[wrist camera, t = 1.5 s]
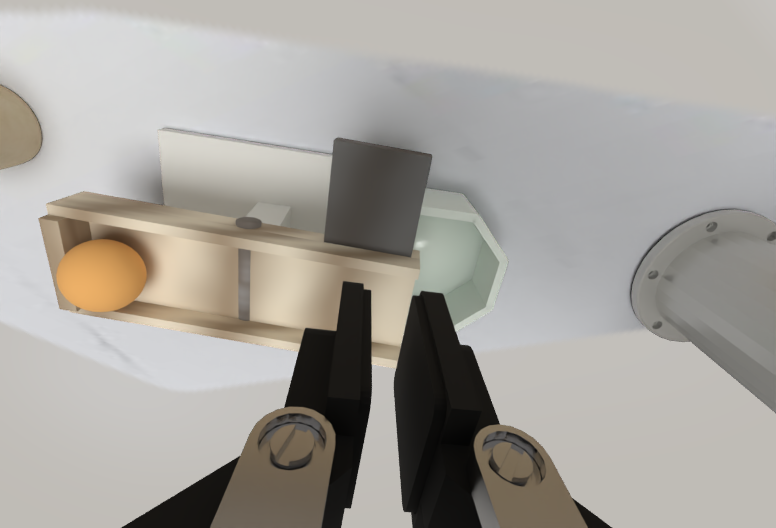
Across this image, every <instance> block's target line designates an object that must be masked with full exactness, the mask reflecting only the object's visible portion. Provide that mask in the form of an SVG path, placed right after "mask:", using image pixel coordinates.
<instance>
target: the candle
mask: <svg viewBox="0 0 776 528" xmlns="http://www.w3.org/2000/svg"><path fill="white" fill-rule="evenodd" d="M41 141H42V135H41V129H40V126H39V123H38V121H37V118H36V117H35V115H34V113H33V112H32V110H31V109H30V108H29V106H28V105H27V104H26V103H25V102H24V101H23V100H22V99H21V98H20V97H19V96H17V95H16V94H15V93H13V92H12V91H10V90H9V89H7V88H5V87H3V86H1V85H0V170H1V169H5V168H9V167H12V166H16V165H19V164H22V163H25V162H27V161H29V160H31V159H32V158H33V157H35V155H36V154H37V153H38V151H39V149H40V146H41Z"/></svg>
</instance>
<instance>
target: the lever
mask: <svg viewBox="0 0 776 528" xmlns="http://www.w3.org/2000/svg"><path fill="white" fill-rule="evenodd" d="M431 160H432V155H431V154H427V153H421V152H415V151H410V150H404V149H399V148H393V147H388V146H382V145H377V144H371V143H366V142H360V141H354V140H349V139H343V138H336V139H335V140H334V145H333V155H332V165H331V175H330V185H329V195H328V205H327V214H326V224H325V234H322V233H317V232H311V231H305V230H300V229H294V228H288V227H283V226H277V225H272V224H266V223H262V221H261V220H260V219H257V218H254V217H241V218H232V217H226V216H221V215H215V214H209V213H204V212H198V211H192V210H187V209H181V208H176V207H170V206H164V205H159V204H153V203H147V202H142V201H136V200H130V199H125V198H119V197H113V196H108V195H102V194H96V193H91V192H85V191H83V192H80V193H77V194H74V195H71V196H68V197H65V198H62V199H59V200H56V201H53V202H50V203H47V204H46V206H47V211H48V215H46V216H43V217H40V218H39V223H40V227H41V231H42V235H43V240H44V244H45V248H46V252H47V257H48V261H49V265H50V269H51V274H52V278H53V282H54V287H55V291H56V295H57V299H58V304H59V308H60V309H63V310H69V311H70V312H72V313H78V314H84V315H90V316H95V317H101V318H107V319H113V320H118V321H124V322H130V323H136V324H142V325H147V326H153V327H159V328H165V329H170V330H176V331H182V332H188V333H194V334H199V335H205V336H211V337H217V338H222V339H228V340H234V341H240V342H245V343H251V344H257V345H263V346H269V347H274V348H280V349H286V350H292V351H297V352H299V349H300V345H301V341H302V337H303V333H304V330H305V328H314V329H323V330H332V331H336V329H337V322H338V314H339V307H340V299H341V292H342V284H343V281H348V282H356V283H364V289H367V290H371V317H372V365H378V366H384V367H390V368H396V367H397V362H398V358H399V353H400V348H401V343H402V338H403V333H404V329H405V324H406V320H407V315H408V311H409V306H410V302H411V297H412V293H413V288H414V284H415V279H417V280H418V277H419V273H420V251H418V250H413V246H414V242H415V237H416V232H417V227H418V222H419V218H420V213H421V208H422V203H423V199H424V194H425V189H426V184H427V179H428V175H429V170H430V165H431ZM97 239H108V240H114V241H118V242H121V243H124V244H126V245H127V246H129V247H131V248H132V249H134V250H135V251H136V252H137V253H138V254H139V255H140V257H141V258H142V260H143V262H144V264H145V267H146V272H147V278H146V283H145V286H144V288H143V290H142V292H141V293H140V295H139V296H138V297H137V298H136V299H135V300H134V301H133V302H131V303H130V304H129V305H127V306H125V307H123V308H120V309H118V310H114V311H109V312H92V311H87V310H84V309H81V308H79V307H77V306H75V305H73V304H72V303H70V302H69V301H68V300H67V299H66V298H65V297H64V296H63V294H62V293H61V291H60V290H59V287H58V284H57V279H56V274H57V268H58V265H59V263H60V261H61V259H62V258H63V257H64V255H65V254H66V253H67V252H68V251H69V250H71V249H72V248H74V247H75V246H77V245H79V244H81V243H84V242H87V241H90V240H97Z"/></svg>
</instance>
